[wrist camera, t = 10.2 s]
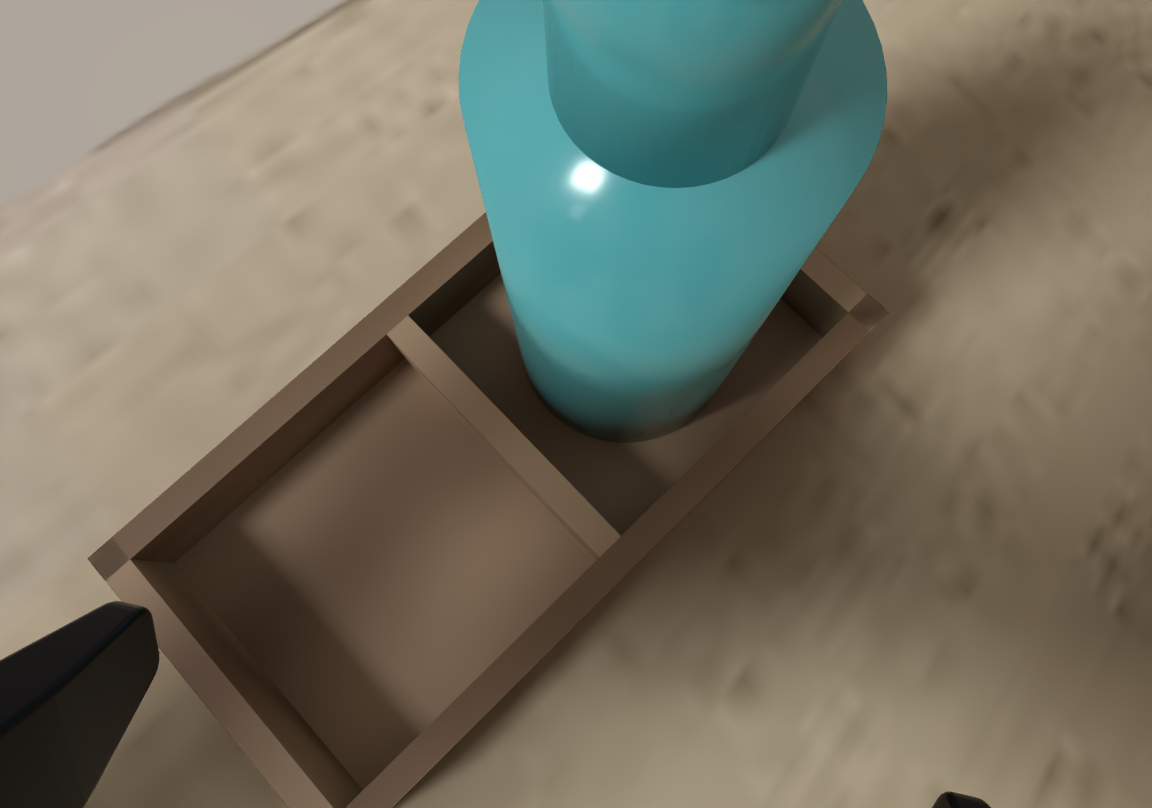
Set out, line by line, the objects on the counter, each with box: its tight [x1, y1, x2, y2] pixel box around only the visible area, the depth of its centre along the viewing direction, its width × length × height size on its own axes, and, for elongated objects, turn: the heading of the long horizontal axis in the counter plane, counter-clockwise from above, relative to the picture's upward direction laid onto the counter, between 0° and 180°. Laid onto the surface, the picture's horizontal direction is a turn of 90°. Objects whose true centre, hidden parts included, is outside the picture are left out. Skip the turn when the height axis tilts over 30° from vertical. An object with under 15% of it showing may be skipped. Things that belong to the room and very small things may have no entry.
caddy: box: [88, 213, 889, 808], centre depth 18 cm, size 8×15×3 cm, turn 134°
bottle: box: [459, 0, 887, 443], centre depth 12 cm, size 5×5×14 cm
